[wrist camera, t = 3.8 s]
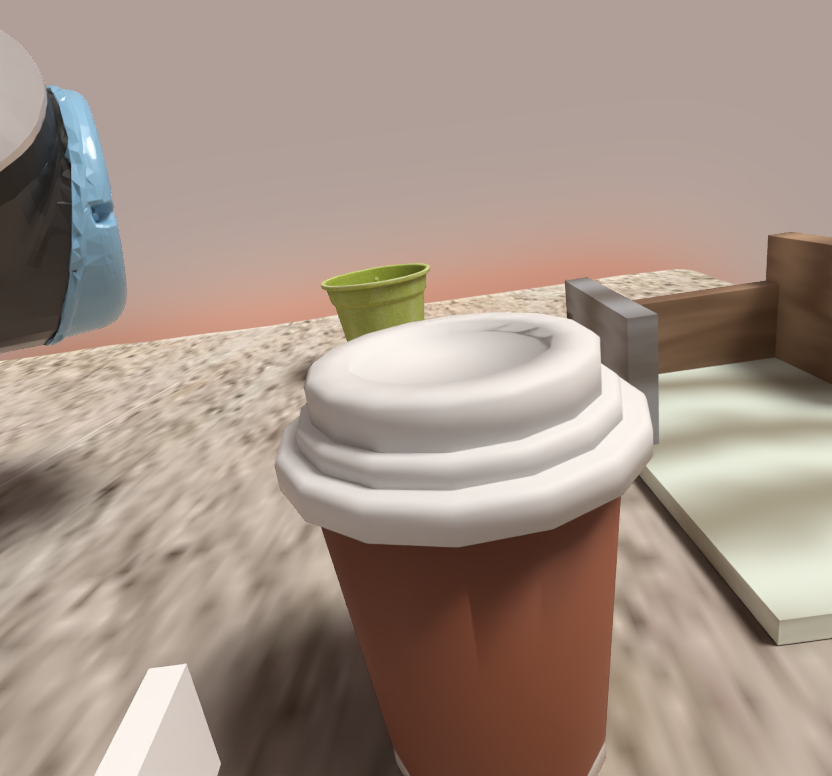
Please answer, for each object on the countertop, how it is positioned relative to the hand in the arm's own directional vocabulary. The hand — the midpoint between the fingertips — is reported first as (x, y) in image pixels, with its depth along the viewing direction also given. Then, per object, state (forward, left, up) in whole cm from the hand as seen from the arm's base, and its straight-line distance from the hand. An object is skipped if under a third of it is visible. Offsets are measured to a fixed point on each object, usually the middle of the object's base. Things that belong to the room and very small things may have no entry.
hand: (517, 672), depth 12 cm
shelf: (-10, +23, -6) cm, 25 cm away
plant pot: (-40, +13, -7) cm, 43 cm away
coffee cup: (-4, +1, -7) cm, 8 cm away
